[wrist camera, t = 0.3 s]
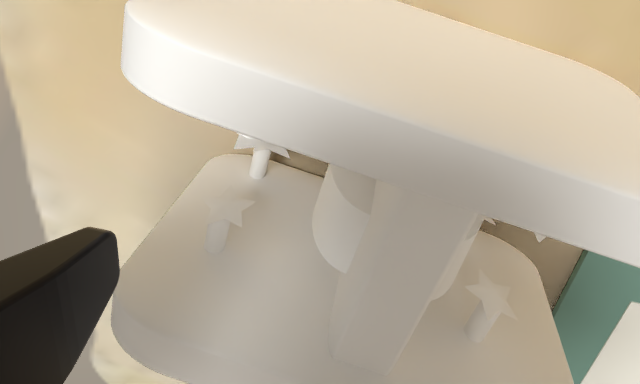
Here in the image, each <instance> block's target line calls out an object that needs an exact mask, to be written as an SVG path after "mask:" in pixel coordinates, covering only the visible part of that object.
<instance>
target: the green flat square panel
mask: <svg viewBox="0 0 640 384" xmlns="http://www.w3.org/2000/svg"><path fill="white" fill-rule="evenodd" d="M552 315H553V319H554V322H555V325H556V328H557V331H558V334H559V338H560V341H561V344H562V347H563V350H564V353H565V356H566V360H567V363H568V366H569V369H570V372H571V375H572V378H573V382H574V384H640V268H638V267H635V266H632V265H629V264H626V263H623V262H620V261H617V260H614V259H611V258H608V257H605V256H603V255H600V254H597V253H594V252H591V251H588V250H585V249H584V251H583V253H582V255H581V257H580V259H579V261H578V263H577V265H576V266H575V268H574V270H573V272H572V274H571V276H570V278H569V280H568V282H567V284H566V286H565V288H564V290H563V292H562V294H561V296H560V298H559V300H558V302H557V303H556V305H555V307H554V309H553V311H552Z"/></svg>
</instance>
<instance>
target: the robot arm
mask: <svg viewBox="0 0 640 384" xmlns="http://www.w3.org/2000/svg"><path fill="white" fill-rule="evenodd" d="M119 275H120V268H119V258H118V248H117V239H116V236H115V234H114V233H113V232H111V231H108V230H103V229H99V228H94V227H86V228H83V229H81V230H78V231H76V232H73V233H71V234H68V235H65V236H63V237H60V238H58V239H55V240H53V241H50V242H48V243H45V244H42V245H40V246H37V247H35V248H32V249H30V250H27V251H24V252H22V253H20V254H17V255H14V256H12V257H9V258H7V259H4V260H1V261H0V384H63V383H64V381H65V380H66V378H67V377H68V375H69V374H70V372H71V370H72V369H73V367H74V365H75V364H76V362H77V360H78V358H79V356H80V354H81V353H82V351H83V349H84V347H85V345H86V343H87V341H88V339H89V338H90V336H91V334H92V332H93V330H94V328H95V326H96V324H97V322H98V320H99V319H100V317H101V315H102V313H103V311H104V309H105V307H106V305H107V303H108V301H109V299H110V298H111V296H112V294H113V292H114V290H115V288H116V286H117V283H118V280H119Z"/></svg>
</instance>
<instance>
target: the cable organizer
mask: <svg viewBox="0 0 640 384" xmlns="http://www.w3.org/2000/svg"><path fill="white" fill-rule="evenodd" d="M121 69H122V71H123V74H124V76H125V77H126V78H127V80H128V81H129V82H130V83H131V84H132V85H133V86H134V87H136V88H137V89H138V90H139V91H140V92H142V93H143V94H145V95H147V96H148V97H150V98H151V99H153V100H155V101H156V102H158V103H160V104H162V105H164V106H166V107H169V108H171V109H173V110H175V111H177V112H180V113H182V114H185V115H187V116H190V117H193V118H196V119H199V120H202V121H205V122H208V123H211V124H214V125H216V126H219V127H222V128H225V129H228V130H231V131H234V132H236V133H238V134H239V136H238V139H237V141H236V144H235V147H234V149H243V148H253V147H254V150H253V152H254V153H253V156H251V155H245V154H225V155H219V156H216V157H213V158H211V159H210V160H209V161H208V162H207V163H206V164H205V165H204V166H203V168H202V169H201V170H200V171H199V173H198V174H197V175H196V176H195V178H194V179H193V180H192V181H191V182H190V184H189V185H188V186H187V187H186V189H185V190H184V191H183V192H182V194H181V195H180V196H179V197H178V199H177V200H176V201H175V202H174V203H173V205H172V206H171V207H170V208H169V210H168V211H167V212H166V213H165V215H164V216H163V217H162V218H161V220H160V221H159V222H158V223H157V224H156V226H155V227H154V228H153V229H152V231H151V232H150V233H149V234H148V236H147V237H146V238H145V239H144V241H143V242H142V243H141V244H140V245H139V247H138V248H137V249H136V250H135V252H134V253H133V254H132V255H131V257H130V258H129V259H128V260H127V262H126V263H125V264H124V265H123V266H122V268H121V269H120V275H119V280H118V283H117V286H116V288H115V290H114V292H113V300H112V312H111V327H112V330H113V334H114V336H115V338H116V340H117V341H118V343H119V344H120V346H121V347H122V348H123V349H124V351H125V352H127V353H128V354H129V355H130V356H131V357H132V358H133V359H135V360H136V361H138V362H139V363H141V364H142V365H144V366H145V367H147V368H149V369H151V370H153V371H155V372H157V373H160V374H162V375H165V376H168V377H171V378H174V379H177V380H180V381H183V382H186V383H189V384H574V382H573V378H572V375H571V372H570V369H569V366H568V363H567V360H566V356H565V353H564V350H563V347H562V344H561V341H560V338H559V334H558V331H557V328H556V325H555V322H554V319H553V315H552V312H551V309H550V306H549V303H548V300H547V297H546V293H545V290H544V287H543V284H542V281H541V278H540V274H539V272H538V270H537V268H536V267H535V265H534V264H533V263H532V262H531V260H530V259H529V258H528V257H527V256H525V255H524V254H523V253H522V252H520V251H519V250H518V249H516V248H515V247H513V246H512V245H510V244H508V243H507V242H505V241H503V240H501V239H499V238H497V237H495V236H493V235H490V234H488V233H485V232H483V231H480V230H479V229H480V227H481V224H482V223H483V221H484V220H486V221H488V222H490V223H492V224H494V225H496V224H495V223H494V221H493V220H492V218H493V219H496V220H499V221H502V222H505V223H507V224H510V225H513V226H516V227H519V228H522V229H525V230H528V231H531V232H534V234H535V236H536V238H537V240H538V242H539V243H540V242H541V241H542V240H543V239H544V238H546V237H549V238H552V239H555V240H558V241H561V242H564V243H567V244H570V245H573V246H576V247H579V248H582V249H585V250H588V251H591V252H594V253H597V254H600V255H603V256H605V257H608V258H611V259H614V260H617V261H620V262H623V263H626V264H629V265H632V266H635V267H638V268H640V98H639V97H638V96H637V95H636V94H635V93H634V92H633V91H632V90H630V89H629V88H628V87H627V86H625V85H624V84H622V83H620V82H619V81H617V80H616V79H614V78H612V77H610V76H608V75H606V74H604V73H602V72H600V71H598V70H596V69H594V68H591V67H589V66H587V65H584V64H582V63H579V62H577V61H574V60H571V59H569V58H566V57H563V56H560V55H557V54H554V53H551V52H548V51H545V50H542V49H539V48H536V47H533V46H530V45H527V44H524V43H521V42H518V41H515V40H512V39H509V38H506V37H503V36H500V35H498V34H495V33H492V32H489V31H486V30H483V29H480V28H477V27H474V26H471V25H468V24H465V23H462V22H459V21H456V20H453V19H450V18H447V17H444V16H441V15H438V14H435V13H432V12H429V11H426V10H423V9H420V8H417V7H414V6H411V5H408V4H405V3H402V2H399V1H396V0H128V1H127V3H126V4H125V11H124V25H123V40H122V54H121ZM286 149H288V150H291V151H294V152H297V153H300V154H303V155H306V156H309V157H311V158H314V159H317V160H320V161H323V162H326V163H329V165H328V168H327V171H326V174H325V177H324V178H322V177H319V176H316V175H313V174H310V173H307V172H304V171H302V170H299V169H296V168H293V167H290V166H287V165H284V164H281V163H278V162H275V161H272V160H269V159H270V155H271V151H273V152H275V153H278V154H280V155H282V156H285V157H287V158H289V159H290V157H289V155H288V152H287V150H286Z"/></svg>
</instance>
